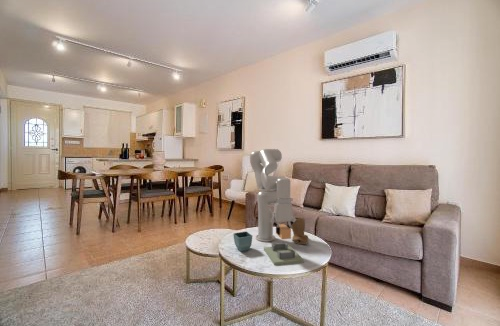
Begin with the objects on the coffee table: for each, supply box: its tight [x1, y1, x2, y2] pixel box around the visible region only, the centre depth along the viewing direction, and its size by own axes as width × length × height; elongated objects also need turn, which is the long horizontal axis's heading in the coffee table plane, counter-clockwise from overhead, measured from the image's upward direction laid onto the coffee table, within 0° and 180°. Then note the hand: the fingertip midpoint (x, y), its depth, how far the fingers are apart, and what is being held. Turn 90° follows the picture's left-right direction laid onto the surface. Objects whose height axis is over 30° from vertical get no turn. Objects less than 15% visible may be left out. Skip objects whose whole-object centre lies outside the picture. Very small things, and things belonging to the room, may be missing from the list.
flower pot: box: [233, 231, 253, 252], centre depth 147 cm, size 9×9×9 cm
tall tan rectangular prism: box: [275, 223, 292, 240], centre depth 137 cm, size 10×5×5 cm, turn 12°
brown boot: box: [290, 216, 309, 245], centre depth 161 cm, size 15×12×15 cm
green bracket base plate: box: [263, 242, 305, 266], centre depth 138 cm, size 20×16×4 cm
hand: (283, 233), depth 138 cm, fingers closed on tall tan rectangular prism, 5 cm apart
